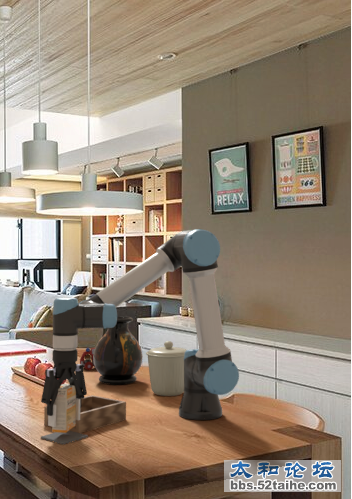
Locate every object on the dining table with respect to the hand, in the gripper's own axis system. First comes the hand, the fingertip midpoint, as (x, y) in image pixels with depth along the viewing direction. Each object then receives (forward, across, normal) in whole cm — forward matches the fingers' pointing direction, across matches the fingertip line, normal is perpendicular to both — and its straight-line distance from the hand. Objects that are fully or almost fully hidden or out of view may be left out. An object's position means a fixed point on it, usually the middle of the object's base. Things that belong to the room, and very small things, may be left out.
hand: (64, 422), depth 198 cm
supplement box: (+2, 0, 0) cm, 2 cm away
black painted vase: (+5, -74, -46) cm, 87 cm away
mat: (+5, 0, 0) cm, 5 cm away
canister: (+5, -69, -14) cm, 71 cm away
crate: (+5, -17, -8) cm, 19 cm away
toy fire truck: (+5, -90, -77) cm, 118 cm away
